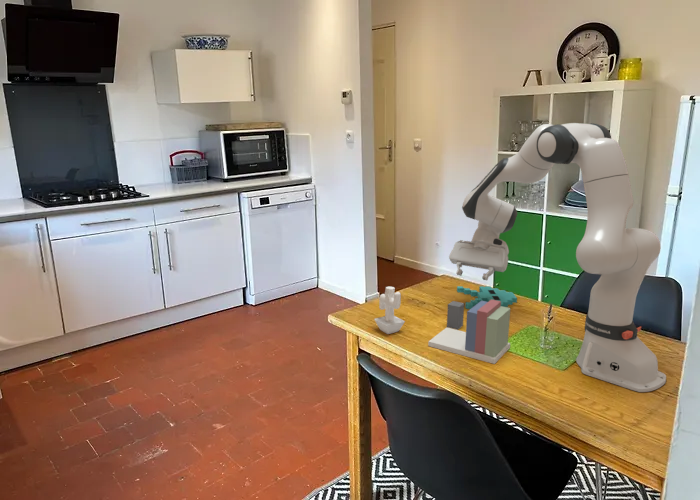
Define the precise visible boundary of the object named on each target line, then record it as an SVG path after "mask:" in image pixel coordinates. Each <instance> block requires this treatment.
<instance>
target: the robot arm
mask: <svg viewBox="0 0 700 500" xmlns="http://www.w3.org/2000/svg"><path fill="white" fill-rule="evenodd" d="M555 164H557V165H558V164H559V165H569V164H576V165H577V166H579V168H580V171H581V175H582V182H583V187H584V194H585V200H586V206H587V216H586V217H587V218H586V219H587V220H586V227H585V231H584V235H583V237H582V239H581V241H580V242H579V243H578V244H577V246H576V251H575V258H576V261H577V263H578V266H579V267H580V268H581V269H582V270H583V271H584V272H586V273H588V274H593V275H600V277H599V279H598V280H597V281H596V282H595V283H594V285H593V286H592V288H591V290H590V294H589V295H590V297H589V303H588V304H589V305H588V312H587V314H586V316H585V322H584V332H585V333H584V336H583V337H584V338H583V340H582V344H581V346H580V350H579V351H578V355H577V357H576V359H575V360H576V363H577V365H578V366H579V367H580V371H581V373H582V374H583V375H586V376H589V377H592V378H594V379H598V380H601V381H604V382H607V383H611V384H612V385H616V386H619V387H621V388H625V389H628V390H631V391H635V392H638V393H646V392H652V391H655V390H658V389H660V388H661V387H662V386H664V385H665V384H666V382H667V375H666V374H665V373H664V372H662V371H660V370H659V364H658V363H659V362H658V358H657V355H656V354H655V353H654V352H653V351H652V350H651V349H650V348H649V347H648V346H647V345H646V344H645V343H644V342H643V341H642V340H641V339H640V338H639V337H638V332H641V331H642V326H639V327H636V325H635V323H634V320H633V318H634V312H635V306H636V301H637V297H638V296H637V295H638V292H639V290H640V288H641V284H642V283H643V280H644V279H645V276H646V274H647V271H648V269H649V268H650V266H651V265H652V264H653V262H654V261H655V260H656V259H657V258H658V257H659V255H660V253H661V242H660V239H659V238H658V236H657V235H656V234H655V233H654V232H653V231H651V230H649V229H645V228H640V227H629V228H626V227H627V218H628V215H629V213H630V211H631V209H632V208H633V205H634V198H633V191H632V187H631V186H632V185H631V181H630V176H629V170H628V167H627V166H628V165H627V162H626V159H625V155H624V153H623V150H622V148H621V146H620V144H619V142H618V141H617V140H616V139H613V138H612V135H611V133H610V131H609V129H608V128H607V127H605V125H601V124H598V123H593V122H592V123H580V122H579V123H578V122H569V123H562V124H551V123H544V124H541V125H539V126H538V127H536V128H535V130H533V132H532V133H531V134H530V135H529V136H528V137H527V139H526V140H525V142H524V143H523V144H522V146H521V147H520V149H519V151H518V152H517V153H515V154H514V155H512V156H509V157H504V158H502V159H501V160H499V161H498V162H497V163H496V164H495V165H494V167H493V168H491V169H490V171H489V172H488V173H487V174H486V175H485V176H484V178H482V179H481V181H480V182H479V183H478V184H477V185H476V186H475V188H473V189H472V190H471V191H470V192H469V193H468V194H467V195H466V196H465V198H464V200H463V203H462V207H461V209H462V211H463V213H464V215H465V217H466V218H468V219H469V218H470V219H472V220H476V221H478V223H477V228H476V229H475V230H474V233H473V235H472V238H471V241H470V240H469V241H468V240H461V239H460V240H458V241H456V242H455V243H454V245H453V248H452V249H451V252H450V254H449V256H448V259H449V261H450V262H451V264H453V265H456V268H457V270H456V275H457V276H460V277H461V276H462V275H463V273H464V271H463V269H461V268H463V266H465V267H471V268H477V269H482V270H487V272H486V273H483V275H482V280H483V281H488V280H489V278H490V277H491V276H492V275H493V274H494V273H495V272H501V273H504V272H505V271H506V270H507V269H508V268H507V267H508V263H509V253H510V250H509V246H508V244H507V242H506V241H504V240H503V239H500V235H501V234H504V233H506V232H509V231H511V230H512V228H513V227H514V225H515V223H516V220H517V216H518V210H517V208H516V206H515V205H513V204H512V203H510V202H507V201H505V200H503V199H500V198H498V197H495V196H492V195H491V194H489V193H490V192H492V190H493V189H494V188H495V187H496V186H497V185H498V184H501V183H504V182H511V183H520V184H533V183H537V182H539V181H541V180H543V179H544V178H545V177H546V176H547V175H548V174H549V172H550V171H551V169H552V168H553V167H554V165H555Z"/></svg>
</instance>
